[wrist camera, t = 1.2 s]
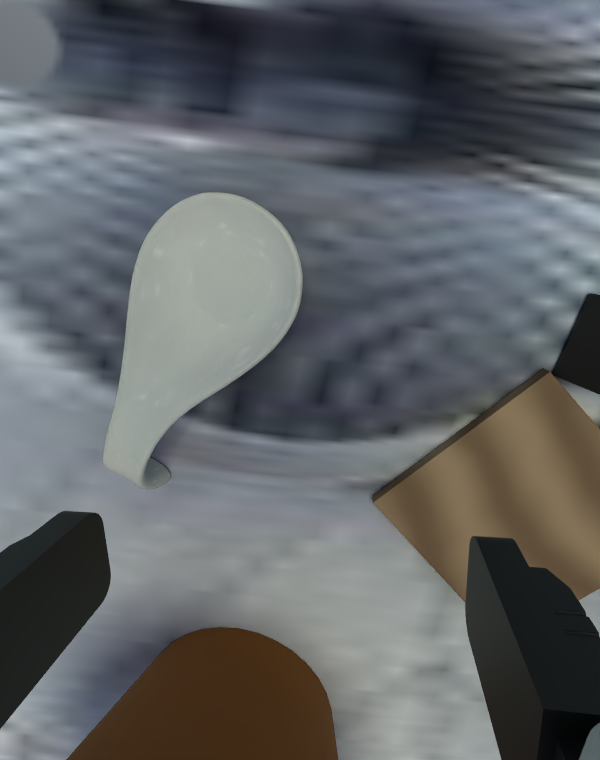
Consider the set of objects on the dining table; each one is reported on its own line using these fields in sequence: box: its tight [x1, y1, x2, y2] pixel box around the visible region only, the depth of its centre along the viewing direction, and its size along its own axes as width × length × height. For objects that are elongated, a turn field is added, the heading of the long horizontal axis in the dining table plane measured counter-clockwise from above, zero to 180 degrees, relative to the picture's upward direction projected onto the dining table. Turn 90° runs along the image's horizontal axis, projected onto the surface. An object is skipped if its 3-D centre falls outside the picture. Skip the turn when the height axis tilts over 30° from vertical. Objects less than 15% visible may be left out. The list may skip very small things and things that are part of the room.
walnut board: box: [373, 368, 600, 602], centre depth 34 cm, size 16×16×1 cm
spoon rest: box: [103, 192, 303, 490], centre depth 32 cm, size 24×12×7 cm, turn 153°
